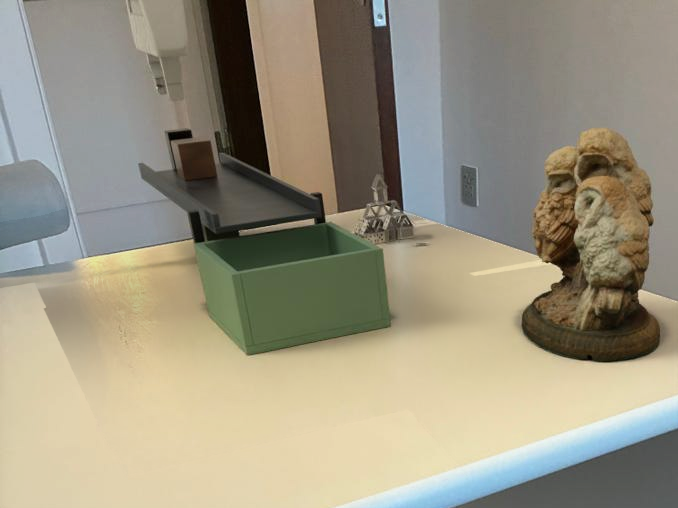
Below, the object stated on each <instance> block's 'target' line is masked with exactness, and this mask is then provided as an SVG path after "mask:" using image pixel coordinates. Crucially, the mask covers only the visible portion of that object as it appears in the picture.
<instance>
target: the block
mask: <svg viewBox="0 0 678 508" xmlns="http://www.w3.org/2000/svg"><path fill="white" fill-rule="evenodd" d="M171 145H172V150H173V155H174V159H175V164H176V169H177V173H178V176H179V177H180V178H182V179H183V180H185V181H189V180H196V179H203V178H211V177H217V171H216V166H215V164H216V161H215V156H214V152H213V151H214V150H213V146H212V142H211V140H210V139H208V138H206V137H204V136H198V137H193V138H189V139H180V140H172V141H171Z"/></svg>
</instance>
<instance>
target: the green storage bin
mask: <svg viewBox="0 0 678 508" xmlns="http://www.w3.org/2000/svg"><path fill="white" fill-rule="evenodd" d="M194 246H195V247H194ZM193 247H194V252H195V251H196V252H195V256H196V255H197V256H196V260H198V261H197V265H199V266H198V270H199V269H200V270H199V274H201V275H200V280H201V279H202V280H201V284H202V283H203V284H202V288H204V289H203V294H204V293H205V294H204V298H206V299H205V303H206V302H207V303H206V308H207V307H208V308H207V312H208V315H209V318H211V320H212V321H213V322H214V323H215V324H216V325H217V326H218V327H219V328H220V329H221V330H222V331H223V332H224V334H226V335H227V336H228V337H229V338H230V339H231V340H232V341H233V343H235V345H237V346H238V348H240V349H241V351H243V352H244V354H245V355H246V356H251V355H255V354H260V353H265V352H271V351H275V350H280V349H286V348H290V347H294V346H299V345H304V344H310V343H314V342H319V341H324V340H330V339H334V338H339V337H345V336H349V335H354V334H358V333H363V332H364V333H365V332H369V331H374V330H379V329H383V328H387V327H391V326H392V325H391V315H390V307H389V306H390V304H389V296H388V286H387V275H386V268H385V267H386V266H385V257H384V249H383V248H382V247H381V246H378V245H376V244H373V243H371V242H369V241H367V240H365V239H363V238H361V237H359V236H357V235H355V234H354V232H351V231H349V230H348V229H346V228H344V227H342V226H339V225H338V224H336V223H334V222H332V221H326V223H320V224H315V223H314V224H310V225H302V226H297V227H289V228H283V229H276V230H269V231H263V232H258V233H257V232H256V233H251V234H245V235H240V236H238V237H232V238H225V239H219V240H213V241H206V242H202V243H201V242H200V243H195V244H194V243H193Z"/></svg>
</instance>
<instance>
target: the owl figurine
mask: <svg viewBox="0 0 678 508" xmlns="http://www.w3.org/2000/svg"><path fill="white" fill-rule="evenodd" d="M544 162H545V164H544V167H543V170H544V176H545V185H544V186H545V189H544V190H542V192H541V194H540V195H539V203H538V204H537V206H535V208H534V210H533V213H532V216H533V222H532V224H533V225H532V229H531V237H532V238H533V239H534V247H535V252H536V254H537V256H538V258H539V259H540V260H541V262H542V263H545V264H551V265H554V266H556V267H557V268H558V269H560V271H561V275H562V278H561V279H560V280H559V281H557V282H553V283H552V284H550V290H548V291H546V292H543V293H541V294H539V295H538V296H536V297H535V298H533V301H531V303H530V304H528V306H527V307H526V308H525V309H524V310H523V313H522V314H521V328H522V330H523V334H524V335H525V336H526V337H527V338H528V339H529V340H530V341H531V342H532V343H534V344H535V345H536V346H538V347H539V348H542V349H543V350H545V351H548V352H550V353H552V354H556V355H559V356H562V357H565V358H571V359H575V360H587V359H588V358H589V357H590V356H591V359H592V360H593V361H597V362H613V361H617V360H629V359H631V358H632V359H633V358H639V357H641V356H644V355H647V354H648V353H652V352H653V351H655V350H656V349H657V347H658V346H659V343H660V341H661V325H660V323H659V322H658V320H657V319H656V318H655V315H653V314H651V313H650V312H649V311H648V309H647V308H646V307H645V306H643V305H642V303H640V300H639V291H640V290H641V289H642V288H643V286H644V283H645V280H646V279H645V278H646V275H645V274H646V272H647V271H648V268H649V264H650V243H649V239H650V234H651V231H650V227H652V226H653V225H654V217H653V214H652V213H653V212H652V209H653V207H654V202H653V199H652V198H651V196H652V183H651V179H650V177H649V176H648V173H647V171H646V170H645V169H643V168H640V167H639V165H638V162H637V160H636V159H635V157H634V154H633V150H632V148H631V147H630V145H629V142H628V141H627V140H626V139H625V138H624V137H623V135H621V134H620V133H619V132H617V131H614V130H612V129H610V128H609V127H603V126H601V127H592V128H590V129H587V130H586V131H582V132H581V134H580V136H578V139H577V146H571V145H566V146H564V147H562V148H560V149H556V150H555V151H553V152H552V153H550V154H549V156H548V157H547V159H545V161H544Z"/></svg>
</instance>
